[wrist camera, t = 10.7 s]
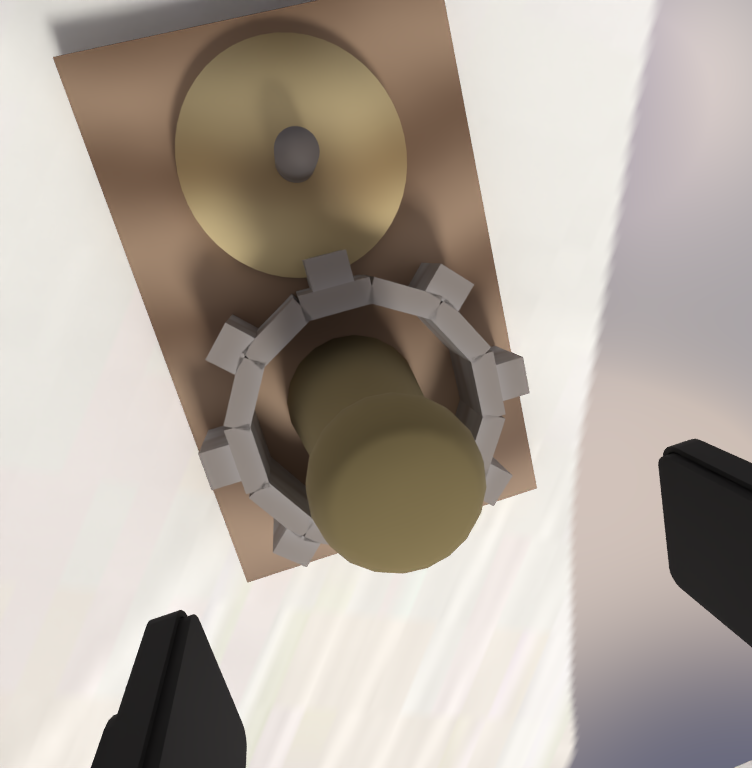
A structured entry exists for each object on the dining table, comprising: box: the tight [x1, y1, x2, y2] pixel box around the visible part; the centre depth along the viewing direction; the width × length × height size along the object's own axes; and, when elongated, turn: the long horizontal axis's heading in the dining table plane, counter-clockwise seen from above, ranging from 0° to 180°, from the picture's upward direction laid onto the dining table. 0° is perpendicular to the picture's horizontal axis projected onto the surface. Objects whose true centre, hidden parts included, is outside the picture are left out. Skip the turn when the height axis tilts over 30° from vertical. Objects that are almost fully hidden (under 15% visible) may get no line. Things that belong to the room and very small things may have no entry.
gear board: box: [53, 0, 537, 582], centre depth 23 cm, size 23×15×4 cm, turn 14°
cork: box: [287, 335, 486, 573], centre depth 19 cm, size 6×6×11 cm
